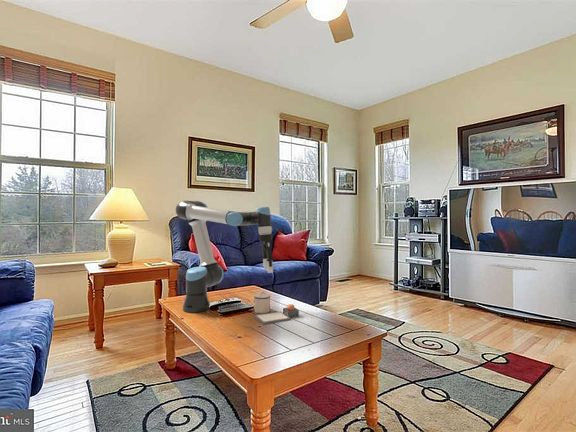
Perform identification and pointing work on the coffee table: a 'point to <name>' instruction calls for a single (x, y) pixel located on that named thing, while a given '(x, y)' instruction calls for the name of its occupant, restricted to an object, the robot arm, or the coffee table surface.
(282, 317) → the board
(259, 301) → the teacup with lid
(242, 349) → the coffee table surface
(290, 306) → the button
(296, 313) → the button housing
